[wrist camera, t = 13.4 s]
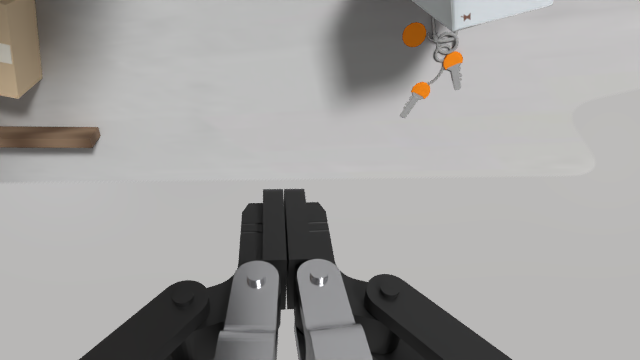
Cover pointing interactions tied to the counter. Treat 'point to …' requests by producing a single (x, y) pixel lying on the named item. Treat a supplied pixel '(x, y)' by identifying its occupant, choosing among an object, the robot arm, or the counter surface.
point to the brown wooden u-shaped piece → (49, 137)
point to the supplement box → (476, 10)
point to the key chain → (452, 61)
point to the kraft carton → (18, 48)
